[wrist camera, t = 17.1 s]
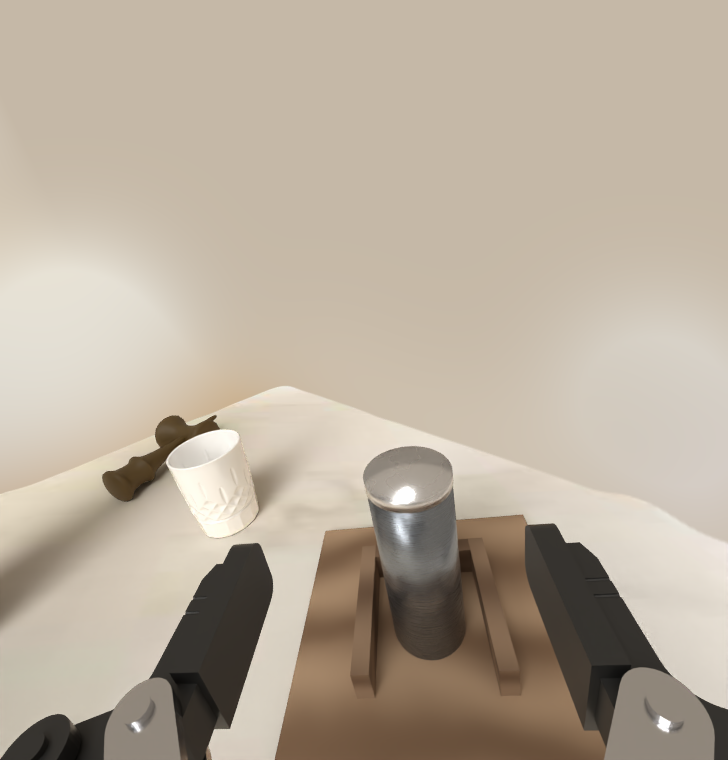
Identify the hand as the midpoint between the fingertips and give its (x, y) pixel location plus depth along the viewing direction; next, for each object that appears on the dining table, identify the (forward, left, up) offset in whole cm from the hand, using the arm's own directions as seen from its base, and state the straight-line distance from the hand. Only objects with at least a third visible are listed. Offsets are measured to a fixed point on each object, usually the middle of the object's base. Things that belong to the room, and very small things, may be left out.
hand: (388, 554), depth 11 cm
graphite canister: (-8, +8, -19) cm, 22 cm away
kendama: (-55, +1, -20) cm, 59 cm away
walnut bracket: (-8, +8, -20) cm, 23 cm away
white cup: (-34, +2, -20) cm, 39 cm away
